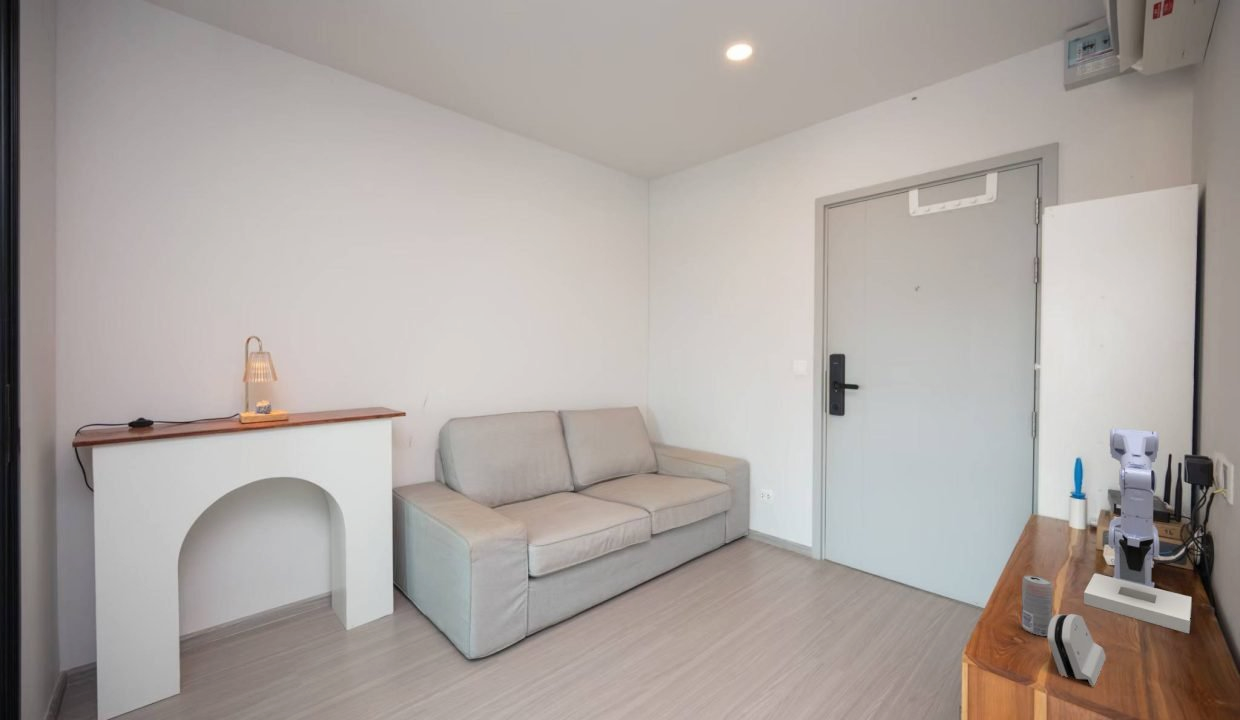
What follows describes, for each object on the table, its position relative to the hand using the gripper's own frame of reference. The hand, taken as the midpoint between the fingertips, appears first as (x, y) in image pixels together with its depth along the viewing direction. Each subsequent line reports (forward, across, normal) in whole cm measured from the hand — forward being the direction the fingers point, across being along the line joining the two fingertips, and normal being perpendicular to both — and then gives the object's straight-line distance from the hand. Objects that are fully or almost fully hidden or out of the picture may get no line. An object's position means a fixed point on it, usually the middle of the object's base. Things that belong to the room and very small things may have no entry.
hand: (1135, 567), depth 128 cm
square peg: (+3, 0, 0) cm, 3 cm away
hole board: (+10, 0, 0) cm, 10 cm away
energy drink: (+10, +35, -13) cm, 39 cm away
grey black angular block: (+10, +44, -5) cm, 46 cm away
